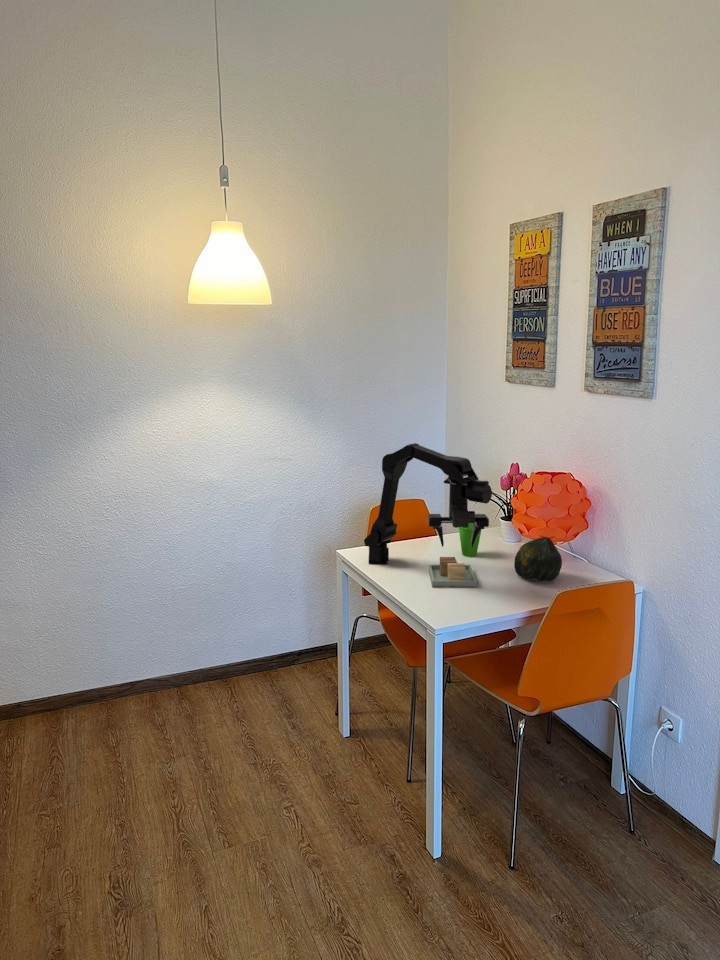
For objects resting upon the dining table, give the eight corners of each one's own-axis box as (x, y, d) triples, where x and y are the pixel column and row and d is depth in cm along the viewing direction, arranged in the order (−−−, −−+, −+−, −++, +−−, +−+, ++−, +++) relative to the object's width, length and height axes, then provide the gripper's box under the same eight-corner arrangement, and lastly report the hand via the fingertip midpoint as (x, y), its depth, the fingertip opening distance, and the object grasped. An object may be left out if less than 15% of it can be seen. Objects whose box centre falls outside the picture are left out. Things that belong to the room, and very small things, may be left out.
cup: (480, 551, 255) (482, 522, 253) (482, 559, 246) (483, 529, 244) (456, 550, 256) (457, 521, 253) (457, 558, 247) (458, 528, 245)
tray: (432, 587, 219) (432, 581, 218) (428, 570, 235) (428, 564, 234) (476, 587, 219) (477, 581, 218) (470, 570, 234) (470, 564, 234)
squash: (501, 556, 232) (522, 531, 221) (537, 552, 238) (559, 528, 227) (518, 593, 224) (541, 570, 213) (555, 588, 230) (579, 565, 219)
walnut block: (439, 571, 232) (439, 556, 231) (454, 571, 232) (454, 556, 231) (440, 576, 227) (441, 561, 226) (456, 576, 227) (456, 561, 226)
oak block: (447, 577, 225) (447, 563, 224) (462, 577, 225) (463, 563, 224) (449, 583, 221) (449, 568, 220) (464, 583, 220) (465, 568, 219)
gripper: (430, 504, 210) (429, 554, 213) (492, 504, 209) (490, 554, 213) (427, 496, 221) (426, 543, 224) (486, 496, 220) (485, 543, 223)
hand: (457, 546), depth 221 cm, fingers open, 9 cm apart
